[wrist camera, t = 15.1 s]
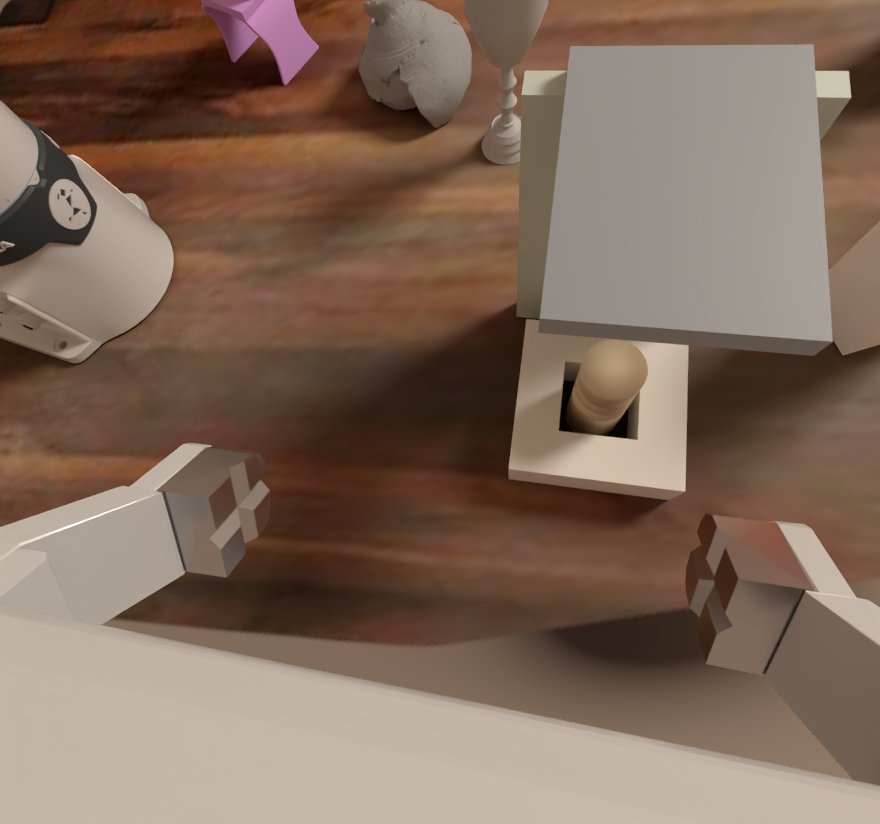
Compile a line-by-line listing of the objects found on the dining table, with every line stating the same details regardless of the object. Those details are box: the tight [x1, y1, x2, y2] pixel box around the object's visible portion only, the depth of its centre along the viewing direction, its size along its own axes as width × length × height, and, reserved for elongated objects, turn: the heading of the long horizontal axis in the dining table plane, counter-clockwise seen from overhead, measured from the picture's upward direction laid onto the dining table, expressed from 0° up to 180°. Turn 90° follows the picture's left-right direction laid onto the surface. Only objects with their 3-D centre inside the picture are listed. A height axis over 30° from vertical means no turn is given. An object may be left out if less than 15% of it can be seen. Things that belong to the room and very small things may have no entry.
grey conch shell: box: [359, 0, 472, 128], centre depth 51 cm, size 12×12×11 cm
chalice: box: [464, 0, 548, 165], centre depth 43 cm, size 7×7×18 cm
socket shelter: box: [508, 45, 851, 500], centre depth 31 cm, size 14×16×23 cm
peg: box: [566, 339, 648, 436], centre depth 37 cm, size 4×4×10 cm
